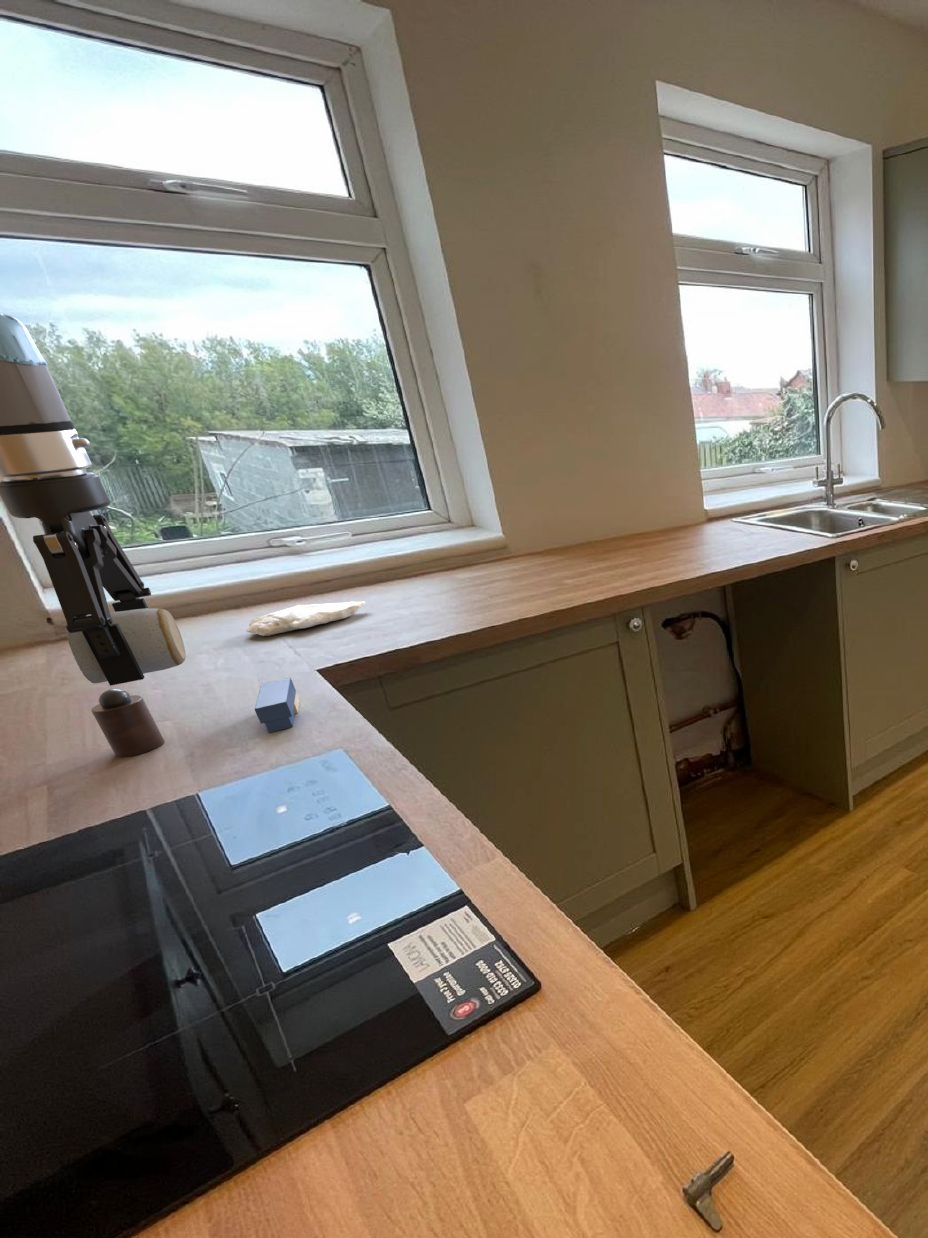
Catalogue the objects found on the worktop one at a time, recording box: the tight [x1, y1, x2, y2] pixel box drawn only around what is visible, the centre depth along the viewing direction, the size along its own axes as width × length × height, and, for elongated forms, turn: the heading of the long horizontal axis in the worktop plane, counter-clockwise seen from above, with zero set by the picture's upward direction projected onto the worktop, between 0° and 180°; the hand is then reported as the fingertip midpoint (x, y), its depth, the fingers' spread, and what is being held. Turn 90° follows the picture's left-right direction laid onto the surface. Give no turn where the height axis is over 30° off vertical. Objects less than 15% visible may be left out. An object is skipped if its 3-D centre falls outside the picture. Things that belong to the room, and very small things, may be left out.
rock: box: [246, 600, 366, 637], centre depth 146 cm, size 4×13×20 cm
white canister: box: [65, 607, 187, 684], centre depth 83 cm, size 11×8×8 cm
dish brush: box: [254, 677, 301, 734], centre depth 106 cm, size 11×4×4 cm, turn 35°
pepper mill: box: [90, 688, 165, 758], centre depth 98 cm, size 5×5×9 cm
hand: (140, 665), depth 84 cm, fingers closed on white canister, 11 cm apart
